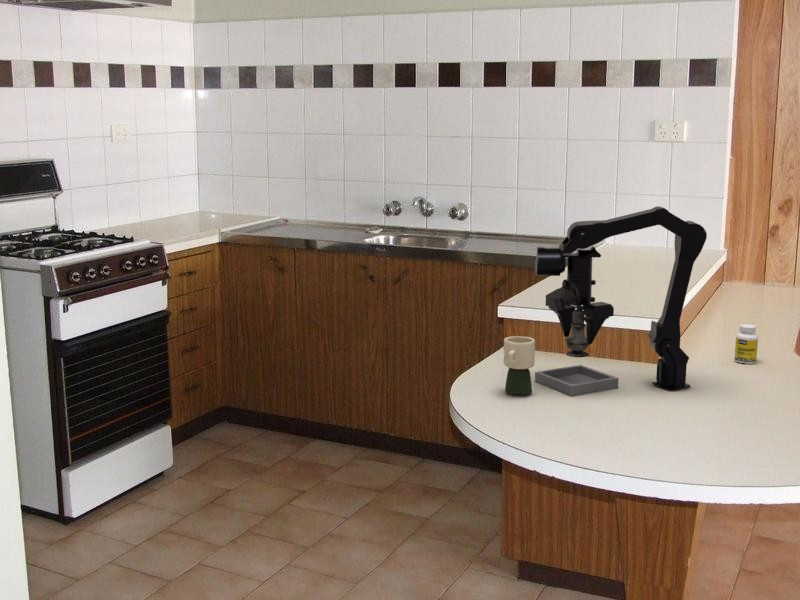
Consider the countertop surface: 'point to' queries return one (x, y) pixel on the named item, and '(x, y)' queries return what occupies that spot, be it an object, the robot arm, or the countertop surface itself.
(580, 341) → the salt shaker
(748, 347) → the supplement bottle
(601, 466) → the countertop surface
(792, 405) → the countertop surface
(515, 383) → the character mug
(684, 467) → the countertop surface
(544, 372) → the charcoal tray
